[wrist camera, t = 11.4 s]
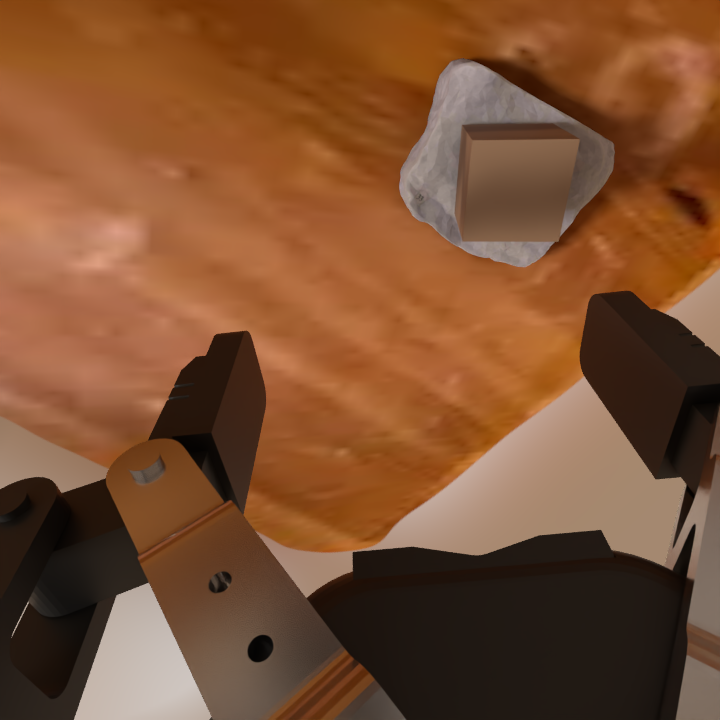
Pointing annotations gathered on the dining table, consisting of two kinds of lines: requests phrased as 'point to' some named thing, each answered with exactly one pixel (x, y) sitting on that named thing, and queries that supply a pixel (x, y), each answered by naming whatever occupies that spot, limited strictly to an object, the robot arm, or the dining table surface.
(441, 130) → the stone block
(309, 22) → the dining table surface
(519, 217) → the walnut cube
